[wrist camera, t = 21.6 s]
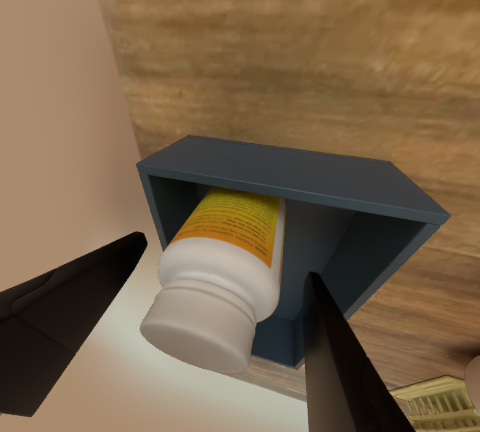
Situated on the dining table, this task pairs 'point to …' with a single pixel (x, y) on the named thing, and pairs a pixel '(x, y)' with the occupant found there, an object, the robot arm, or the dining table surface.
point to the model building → (441, 406)
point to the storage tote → (301, 220)
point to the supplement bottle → (219, 280)
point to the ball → (473, 381)
